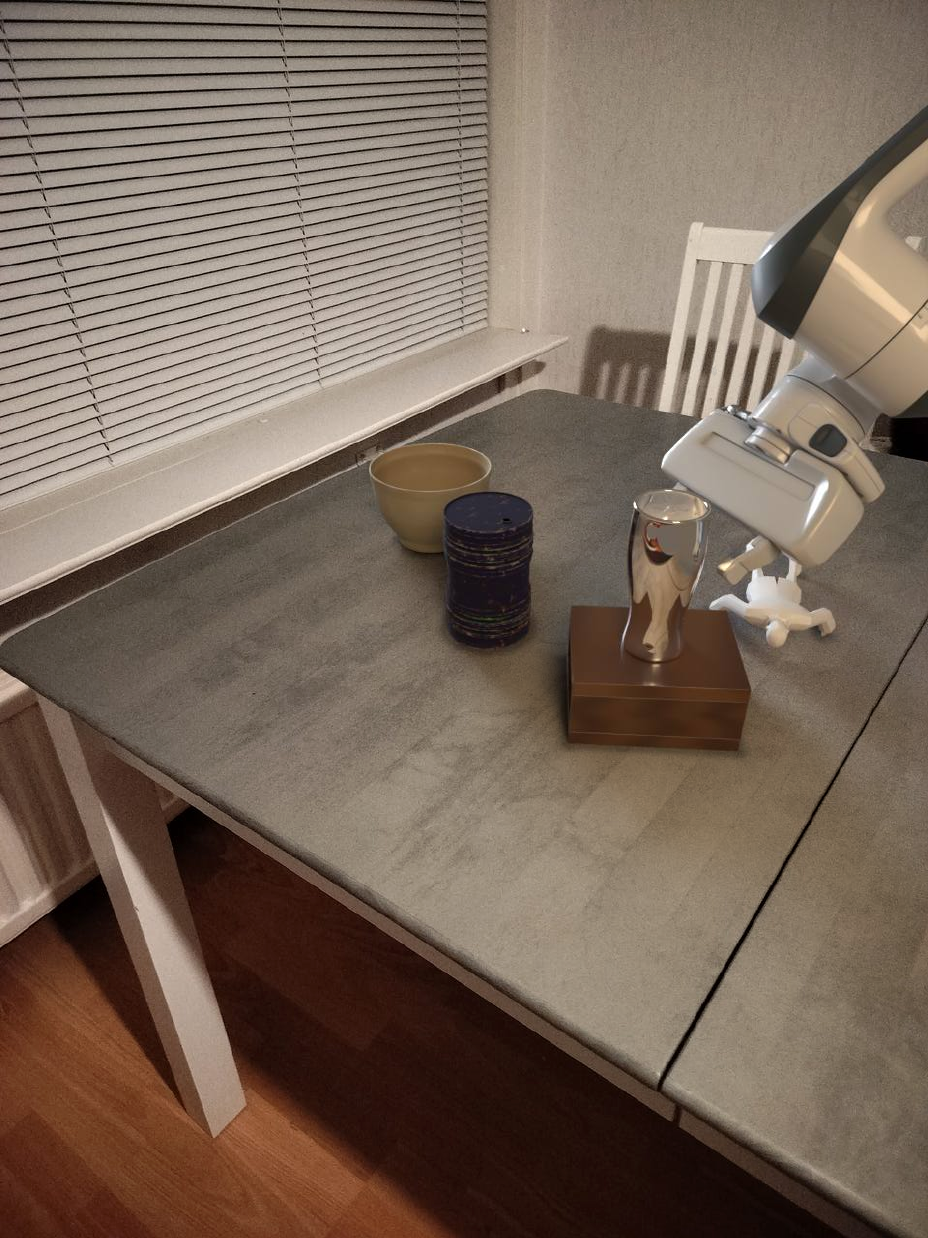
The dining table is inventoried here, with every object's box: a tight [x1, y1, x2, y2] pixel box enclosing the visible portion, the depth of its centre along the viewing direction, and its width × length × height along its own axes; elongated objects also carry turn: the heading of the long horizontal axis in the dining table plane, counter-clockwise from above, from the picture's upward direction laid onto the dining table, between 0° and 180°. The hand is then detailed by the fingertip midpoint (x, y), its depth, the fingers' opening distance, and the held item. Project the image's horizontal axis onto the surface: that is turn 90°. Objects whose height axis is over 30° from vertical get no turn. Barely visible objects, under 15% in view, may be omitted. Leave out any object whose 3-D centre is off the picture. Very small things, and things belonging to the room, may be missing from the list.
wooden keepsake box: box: [566, 604, 752, 752], centre depth 82 cm, size 16×13×8 cm
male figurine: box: [708, 538, 837, 648], centre depth 94 cm, size 14×6×25 cm
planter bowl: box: [368, 442, 493, 554], centre depth 111 cm, size 16×16×11 cm
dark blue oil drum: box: [443, 490, 535, 651], centre depth 92 cm, size 10×10×15 cm
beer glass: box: [622, 488, 712, 662], centre depth 76 cm, size 7×7×15 cm
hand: (691, 554), depth 75 cm, fingers open, 8 cm apart
